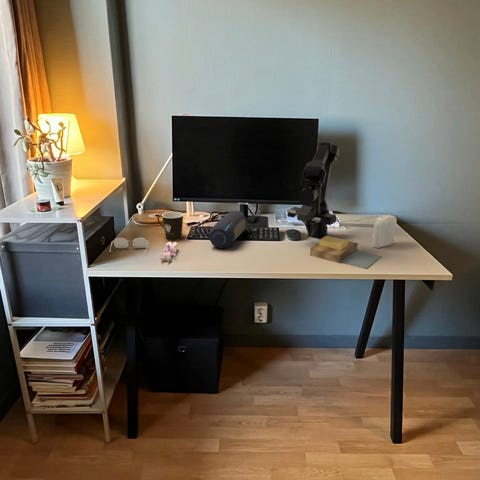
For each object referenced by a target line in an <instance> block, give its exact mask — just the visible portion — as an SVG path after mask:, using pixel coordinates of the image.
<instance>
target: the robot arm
mask: <svg viewBox="0 0 480 480" xmlns="http://www.w3.org/2000/svg"><path fill="white" fill-rule="evenodd" d="M316 148H317V149H316V152H315V154H314V157H313V159H312V160H311V161H308V162H307V164H306V165H305V167H304V168H303V171H302V175H301V179H300V185H303V186H304V188H303V189H302V190H301V191H300V192H299V194H298V200H299V202H300V203H301V204H302V205H301V207H299V206H298V207H297V206H294V207H291V208H290V209H288V210H287V214H286V215H287V217H288V218H292V219H294V218H295V217H296V220H297V221H299V222H302V223H303V225H305V229H306V232H307V236H308V237H309V238H315V239H319V240H320V239H322V238H323V237H325V236H329V233H328V226H329V225H331V224H333V223H335V222H336V219H337V217H336V215H334V214H335V213H330V210H329V206H328V203H327V195H328V190H329V189H328V188H329V184H330V183H329V182H330V179H331V178H330V177H331V170H332V167H333V166H334V165H335V164H336V163H337V159H338V157H339V156H340V148H339V146H338V145H335V144H333V143H332V142H330V141H329V142H328V141H326V142H325V141H319V142H318V145H317V147H316Z"/></svg>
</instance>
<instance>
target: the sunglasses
mask: <svg viewBox="0 0 480 480" xmlns="http://www.w3.org/2000/svg"><path fill="white" fill-rule="evenodd" d="M148 243H149V240H147V238H144V237H136V238H134V239H133V240H132V246H133V247H135V248H137V249H147V247H148ZM112 245H113V246H115V248H116V249H126V248H127V247H129V240H127V239H126V238H123V237H117V238H115V239H114V240H112V241H111V245H110V249H109V251H111V248H112ZM146 252H147V250H145V251H144V253H146Z"/></svg>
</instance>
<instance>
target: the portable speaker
mask: <svg viewBox="0 0 480 480" xmlns="http://www.w3.org/2000/svg"><path fill="white" fill-rule="evenodd" d="M247 226H248V219H247V217H246V216H245V214H244V213H242V211H240V210H239V211H238V210H234V211H233V210H231V211H229V212H227V214H225V215H224V216H223V217H222V218H221V219H220V220H218V221H217V222H216V223H215V224H214V225H213V226H212V227H211V229H210V231H209V234H208V237H209V242H210V243H211V245H213V246H214V248H215V247H216V248H219V249H224V248H228V247H230V246H231V245H232V244H233V242H235V241H236V239H238V237H239V236H240V235H241V234H242V233H243V232H244V231H245V230H246V228H247Z"/></svg>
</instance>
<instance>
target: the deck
mask: <svg viewBox="0 0 480 480" xmlns="http://www.w3.org/2000/svg"><path fill="white" fill-rule="evenodd" d="M358 245H359V244H358V242H355V241H351V240H348V245H347V246H346V247H345V248H343V249H342V250H338V249H334V248H330V247H326V246H322V245H319V242H318V243H316V244H315V245H313V246H311V247H310V248H309V250H310V251H309V256H311V257H315V258H319V259H322V260H326V261H329V262H334V263H337V264H340V263H342V262H341V261H342V260H343V259H345V258H346V257H347V256H349V255H350V254H351V253H353V252H354V251H355V250H358Z"/></svg>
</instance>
